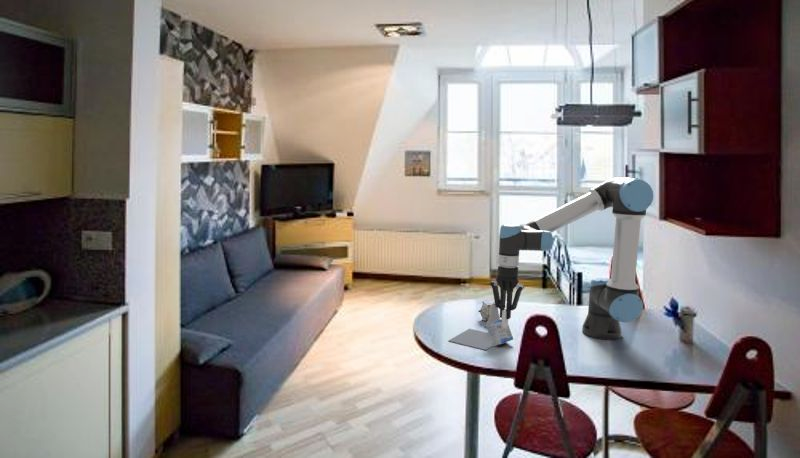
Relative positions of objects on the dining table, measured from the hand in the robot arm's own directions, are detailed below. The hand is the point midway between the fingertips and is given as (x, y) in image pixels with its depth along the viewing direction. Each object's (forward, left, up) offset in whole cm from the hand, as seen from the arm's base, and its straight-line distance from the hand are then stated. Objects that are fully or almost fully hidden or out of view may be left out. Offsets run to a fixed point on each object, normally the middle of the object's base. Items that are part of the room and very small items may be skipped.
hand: (504, 326), depth 206 cm
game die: (+18, -25, -8) cm, 32 cm away
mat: (+11, 0, -8) cm, 13 cm away
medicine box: (0, 0, -7) cm, 7 cm away
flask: (+12, -18, -8) cm, 23 cm away
